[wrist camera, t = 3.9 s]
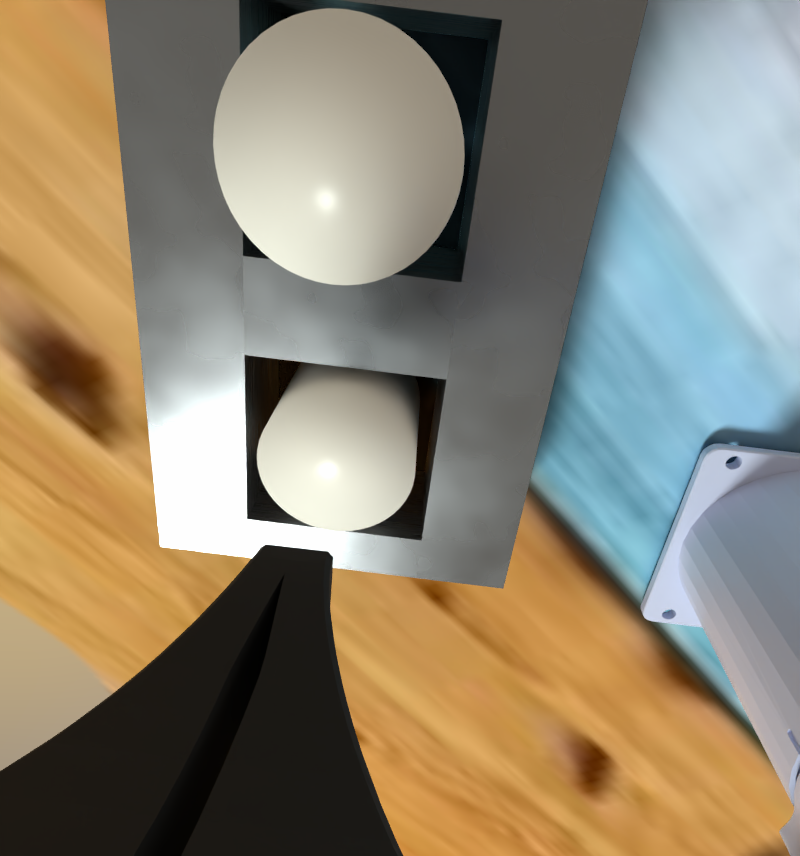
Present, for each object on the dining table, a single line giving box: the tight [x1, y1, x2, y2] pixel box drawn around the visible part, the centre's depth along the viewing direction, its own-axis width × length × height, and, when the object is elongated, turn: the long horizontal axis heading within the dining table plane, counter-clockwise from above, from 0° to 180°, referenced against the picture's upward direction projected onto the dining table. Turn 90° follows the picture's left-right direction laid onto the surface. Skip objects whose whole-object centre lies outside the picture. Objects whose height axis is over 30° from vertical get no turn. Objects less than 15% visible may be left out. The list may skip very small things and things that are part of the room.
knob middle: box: [213, 8, 465, 285], centre depth 13 cm, size 4×4×4 cm
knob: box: [257, 362, 420, 531], centre depth 19 cm, size 4×4×4 cm
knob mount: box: [105, 0, 648, 588], centre depth 15 cm, size 11×24×4 cm, turn 174°
